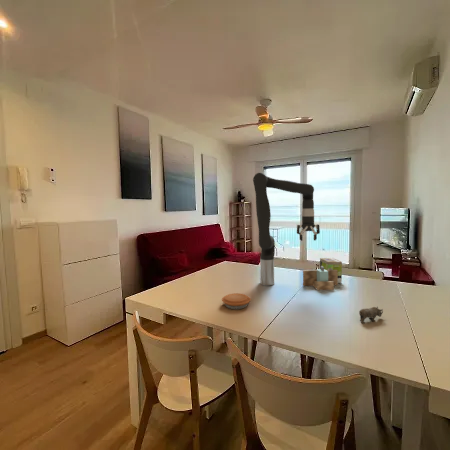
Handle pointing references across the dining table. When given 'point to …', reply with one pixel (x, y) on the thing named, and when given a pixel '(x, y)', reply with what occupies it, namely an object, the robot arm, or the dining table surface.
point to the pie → (236, 301)
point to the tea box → (332, 266)
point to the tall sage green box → (322, 274)
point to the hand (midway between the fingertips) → (308, 240)
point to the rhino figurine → (370, 314)
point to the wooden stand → (311, 280)
